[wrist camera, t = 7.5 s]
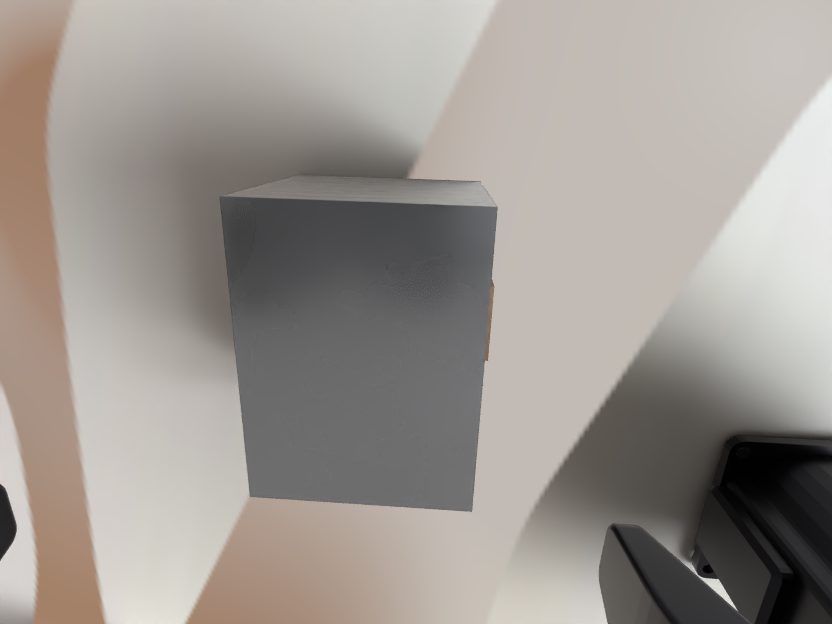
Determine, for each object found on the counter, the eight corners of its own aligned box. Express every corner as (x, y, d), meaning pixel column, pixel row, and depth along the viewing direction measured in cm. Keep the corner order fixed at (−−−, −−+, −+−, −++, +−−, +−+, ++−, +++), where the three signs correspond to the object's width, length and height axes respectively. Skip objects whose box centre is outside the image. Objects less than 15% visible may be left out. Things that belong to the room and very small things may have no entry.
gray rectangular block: (480, 181, 16) (497, 206, 11) (464, 398, 19) (472, 511, 13) (297, 174, 16) (219, 196, 11) (308, 390, 19) (250, 496, 14)
